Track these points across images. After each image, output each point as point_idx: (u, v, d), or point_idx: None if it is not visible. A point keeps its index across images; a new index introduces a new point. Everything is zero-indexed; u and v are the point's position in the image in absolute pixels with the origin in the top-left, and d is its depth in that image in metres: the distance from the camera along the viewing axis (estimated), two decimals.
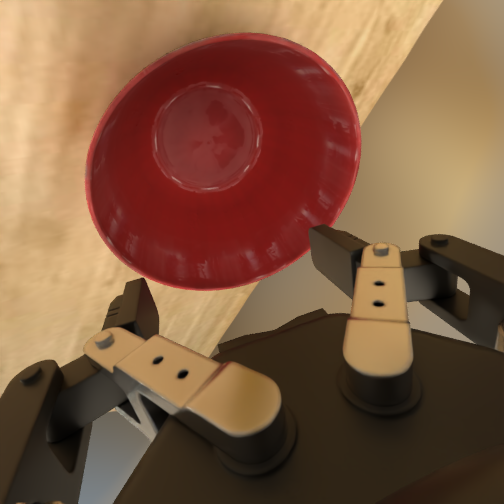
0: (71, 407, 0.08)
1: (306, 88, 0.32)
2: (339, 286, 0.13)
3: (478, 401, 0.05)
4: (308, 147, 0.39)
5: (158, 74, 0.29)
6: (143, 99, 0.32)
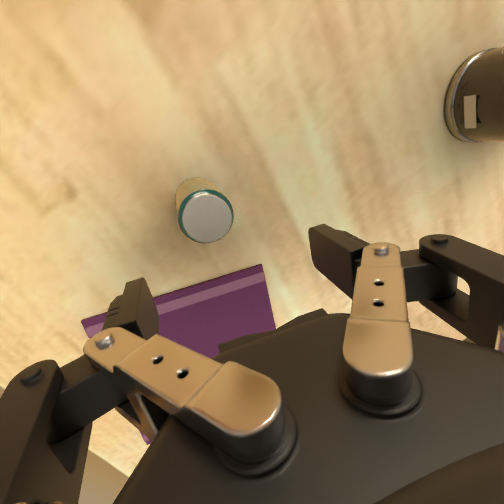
0: (71, 407, 0.08)
1: None
2: (339, 286, 0.13)
3: (478, 401, 0.05)
4: None
5: None
6: None
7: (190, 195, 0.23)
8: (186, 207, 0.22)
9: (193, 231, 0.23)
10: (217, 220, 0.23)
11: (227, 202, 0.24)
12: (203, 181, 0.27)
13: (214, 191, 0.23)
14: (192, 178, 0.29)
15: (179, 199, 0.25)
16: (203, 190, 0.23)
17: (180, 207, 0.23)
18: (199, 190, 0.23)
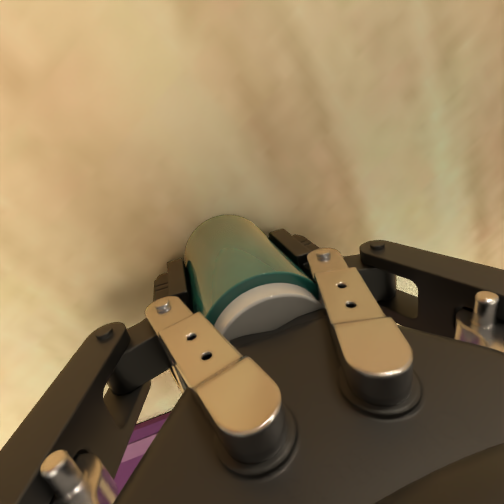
0: (132, 369, 0.09)
1: None
2: None
3: (495, 405, 0.05)
4: None
5: None
6: None
7: (233, 290, 0.09)
8: (225, 330, 0.08)
9: None
10: None
11: None
12: (246, 229, 0.13)
13: (294, 276, 0.09)
14: (219, 216, 0.15)
15: (199, 282, 0.10)
16: (267, 276, 0.09)
17: None
18: (257, 276, 0.09)
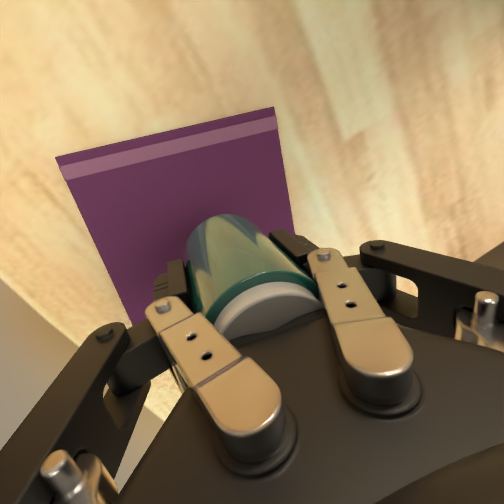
0: (131, 369, 0.09)
1: None
2: None
3: (495, 405, 0.05)
4: None
5: None
6: None
7: (233, 289, 0.09)
8: (225, 329, 0.08)
9: None
10: None
11: None
12: (246, 228, 0.13)
13: (294, 275, 0.09)
14: (218, 216, 0.15)
15: (199, 281, 0.10)
16: (267, 274, 0.09)
17: None
18: (257, 275, 0.09)
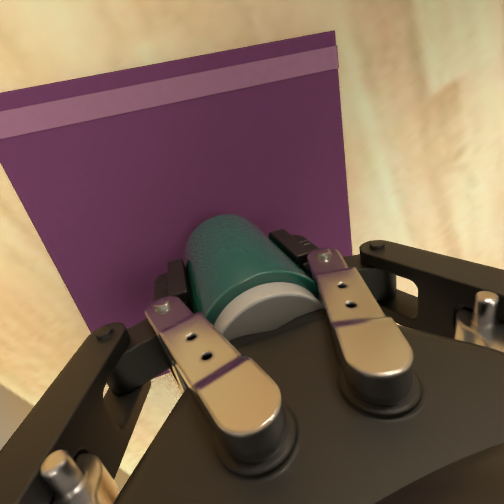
0: (132, 369, 0.09)
1: None
2: None
3: (495, 405, 0.05)
4: None
5: None
6: None
7: (233, 290, 0.09)
8: (225, 329, 0.08)
9: None
10: None
11: None
12: (246, 228, 0.13)
13: (294, 275, 0.09)
14: (218, 216, 0.15)
15: (199, 281, 0.10)
16: (267, 275, 0.09)
17: None
18: (257, 275, 0.09)
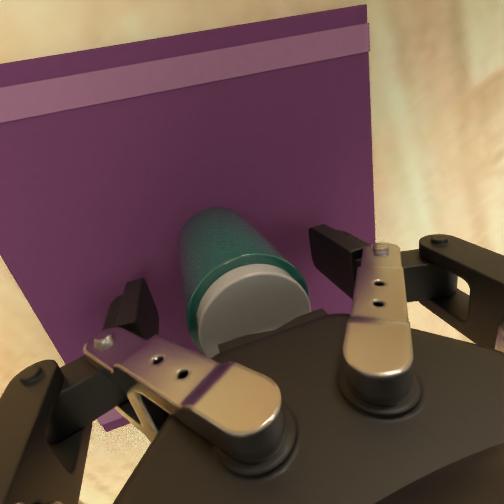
0: (71, 407, 0.08)
1: None
2: (339, 286, 0.13)
3: (478, 401, 0.05)
4: None
5: None
6: None
7: (218, 270, 0.09)
8: (209, 304, 0.09)
9: None
10: (280, 326, 0.10)
11: (299, 279, 0.10)
12: (234, 219, 0.14)
13: (273, 258, 0.10)
14: (209, 209, 0.16)
15: (188, 266, 0.11)
16: (248, 257, 0.10)
17: (193, 297, 0.10)
18: (239, 257, 0.10)
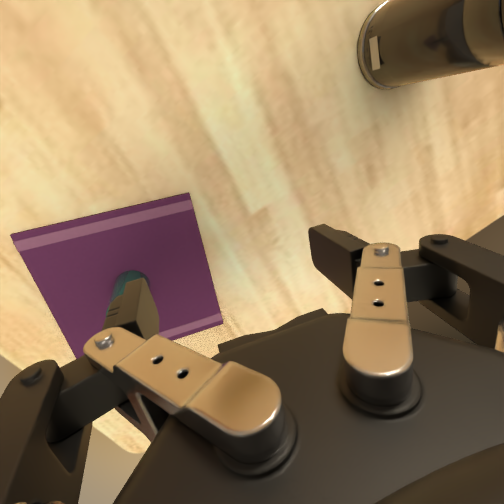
0: (71, 407, 0.08)
1: None
2: (339, 286, 0.13)
3: (478, 401, 0.05)
4: None
5: None
6: None
7: None
8: None
9: None
10: None
11: None
12: (132, 278, 0.36)
13: None
14: (127, 271, 0.38)
15: (110, 299, 0.33)
16: None
17: (107, 310, 0.32)
18: None
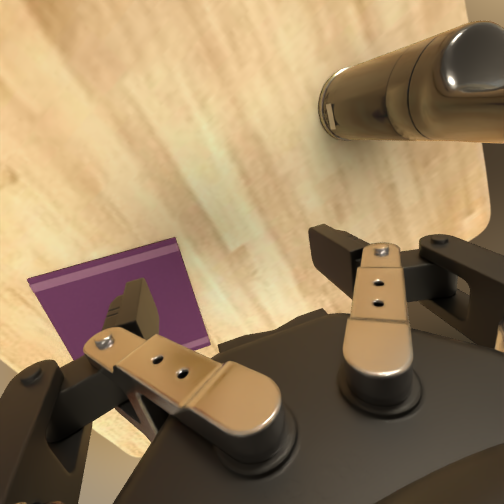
0: (71, 407, 0.08)
1: None
2: (339, 286, 0.13)
3: (478, 401, 0.05)
4: None
5: None
6: None
7: None
8: None
9: None
10: None
11: None
12: None
13: None
14: None
15: None
16: None
17: None
18: None
